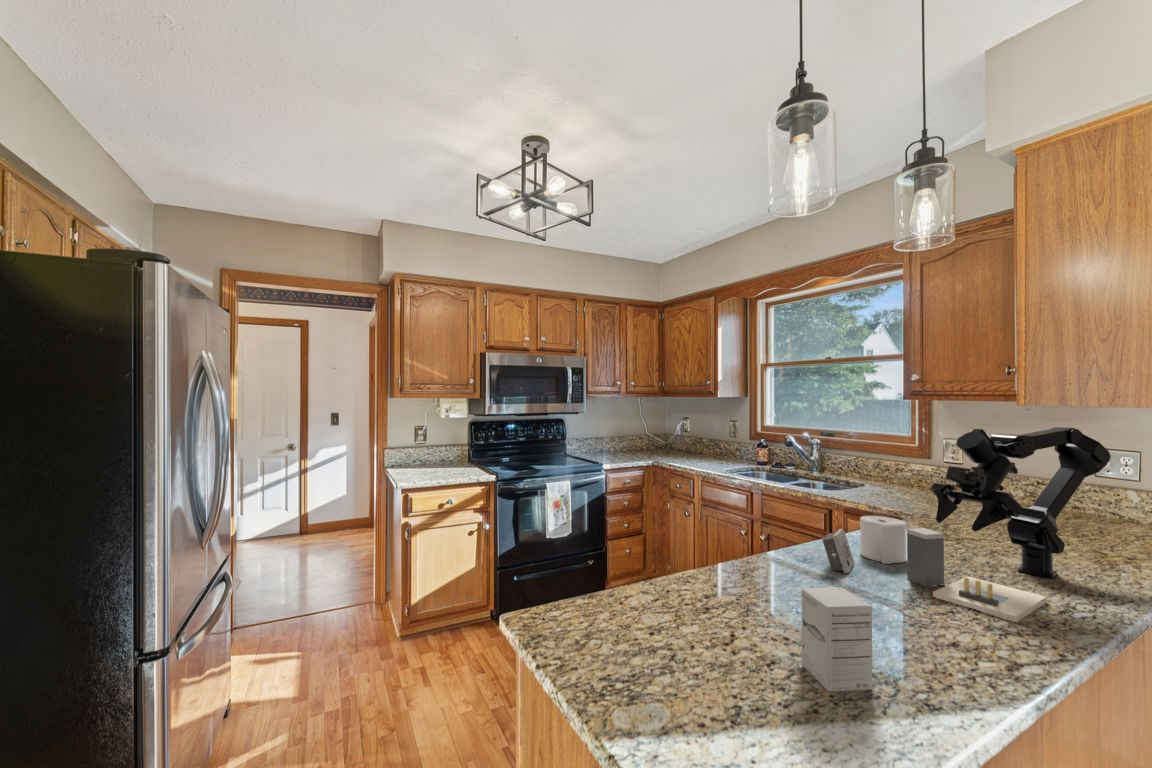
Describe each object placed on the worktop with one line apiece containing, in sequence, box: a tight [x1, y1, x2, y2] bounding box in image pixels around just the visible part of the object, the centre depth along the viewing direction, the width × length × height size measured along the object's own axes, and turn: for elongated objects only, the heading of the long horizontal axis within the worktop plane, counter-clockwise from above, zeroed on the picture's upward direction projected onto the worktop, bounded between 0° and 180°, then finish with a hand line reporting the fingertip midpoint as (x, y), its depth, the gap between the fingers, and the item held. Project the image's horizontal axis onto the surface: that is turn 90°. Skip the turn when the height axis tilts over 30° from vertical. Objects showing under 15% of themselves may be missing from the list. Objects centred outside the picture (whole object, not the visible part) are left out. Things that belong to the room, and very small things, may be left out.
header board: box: [932, 575, 1048, 623], centre depth 106 cm, size 18×14×5 cm
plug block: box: [906, 527, 945, 587], centre depth 116 cm, size 5×5×12 cm
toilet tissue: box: [859, 515, 907, 564], centre depth 134 cm, size 11×12×10 cm
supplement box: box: [801, 586, 873, 693], centre depth 76 cm, size 7×7×13 cm
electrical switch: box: [822, 528, 855, 575], centre depth 126 cm, size 9×5×9 cm, turn 141°
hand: (954, 525), depth 118 cm, fingers open, 9 cm apart
